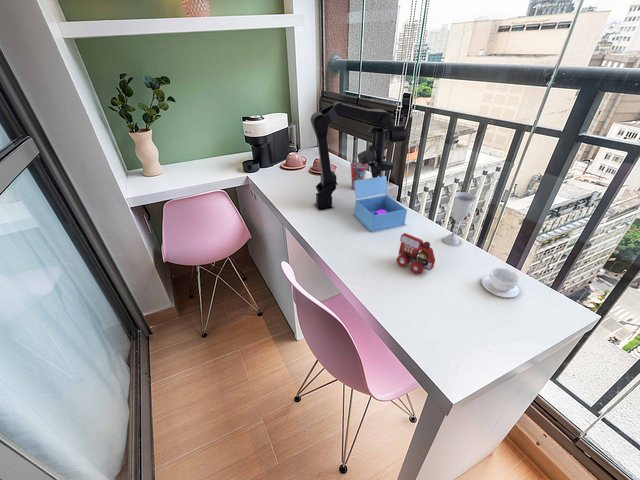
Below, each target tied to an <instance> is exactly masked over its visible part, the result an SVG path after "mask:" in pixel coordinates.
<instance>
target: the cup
mask: <svg viewBox="0 0 640 480" xmlns="http://www.w3.org/2000/svg"><path fill="white" fill-rule="evenodd" d="M368 167H369V165H368V164H367V163H366V164H362V163H360V162H359V161H354V162H350V173H351V177H350V178H351V188H352V189H353V190H355V185H354V181H356V180H363V179H366V178H365V177H366V173H367V169H368Z"/></svg>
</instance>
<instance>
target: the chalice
mask: <svg viewBox="0 0 640 480" xmlns="http://www.w3.org/2000/svg"><path fill="white" fill-rule="evenodd" d="M453 198H454V200H453V203H452V207H451V211H452V212H451V213H452V218H453V220H454V221H455V223H454V224H453V228H452V229H451V230H452V233H449V234H447V236H446V237H445V238H444V240H443V241H444V242H445V244H448V245H451V246H456V245H459V243H460V241H459V237H458V235H457V234H456V232H457V231H458V227H459V223H460V222H462V221H463V220H464V219H465V218H467V216H468V215H469V214H470V212H471V211H472V208H473V204H474V202H475V201H476V199H477V196H476V195H475V194H473V193H470V192H466V191H459V192H455V193H454V194H453Z"/></svg>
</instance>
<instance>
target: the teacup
mask: <svg viewBox="0 0 640 480" xmlns="http://www.w3.org/2000/svg"><path fill="white" fill-rule="evenodd" d="M520 280H521V279H520V276H519V275H518V274H517V273H516V272H514V271H513V270H511V269H508V268H506V267H505V268H504V267H494V268H492V269H491V270H490V274H489V275H486V276H484V277H483V278H482V279H481V284H482V286H483V288H484V289H485V290H487V291H488V292H489V293H491V294H493V295H495V296H498V297H500V298H501V297H502V298H514V297H517V296H518V295H519V294H520V288H519V286H518V284H519V282H520Z"/></svg>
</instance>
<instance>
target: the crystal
mask: <svg viewBox="0 0 640 480" xmlns="http://www.w3.org/2000/svg"><path fill="white" fill-rule="evenodd" d="M383 213H387V212H386V211H385V210H383V209H380V210H378V211H376V212H375V213H374V215H378V214H383Z"/></svg>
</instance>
